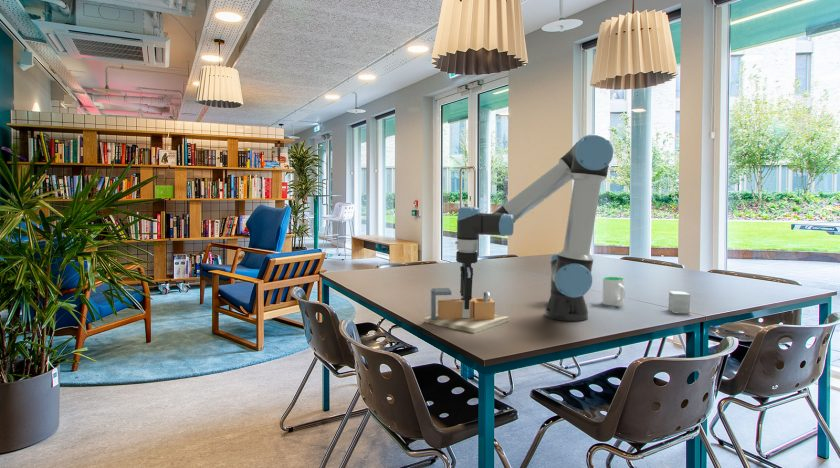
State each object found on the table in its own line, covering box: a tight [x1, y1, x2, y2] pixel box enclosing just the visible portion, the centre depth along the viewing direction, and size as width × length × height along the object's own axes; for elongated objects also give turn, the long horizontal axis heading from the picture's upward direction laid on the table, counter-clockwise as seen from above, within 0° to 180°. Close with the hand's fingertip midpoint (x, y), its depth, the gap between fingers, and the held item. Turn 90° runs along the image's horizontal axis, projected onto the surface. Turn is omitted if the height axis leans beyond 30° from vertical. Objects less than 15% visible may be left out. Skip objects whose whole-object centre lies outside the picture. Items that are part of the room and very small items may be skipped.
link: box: [437, 297, 496, 319], centre depth 183 cm, size 20×7×6 cm, turn 92°
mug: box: [602, 276, 626, 307], centre depth 209 cm, size 12×8×10 cm
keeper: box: [430, 287, 452, 320], centre depth 181 cm, size 7×7×10 cm
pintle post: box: [483, 291, 491, 302], centre depth 182 cm, size 2×2×9 cm
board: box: [423, 313, 510, 334], centre depth 183 cm, size 22×21×2 cm
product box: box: [667, 290, 691, 314], centre depth 196 cm, size 6×6×7 cm
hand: (465, 316), depth 183 cm, fingers open, 4 cm apart
